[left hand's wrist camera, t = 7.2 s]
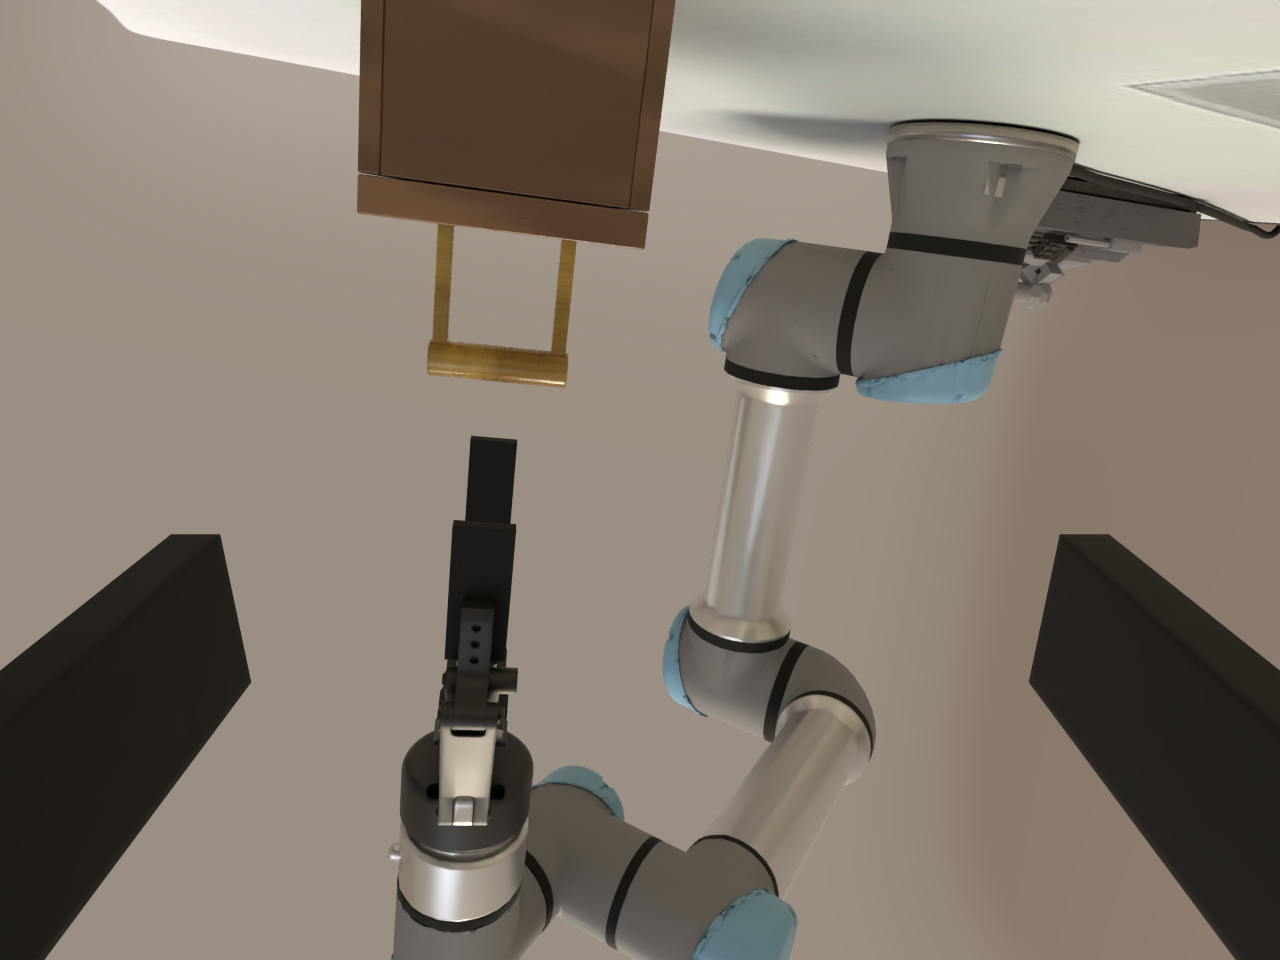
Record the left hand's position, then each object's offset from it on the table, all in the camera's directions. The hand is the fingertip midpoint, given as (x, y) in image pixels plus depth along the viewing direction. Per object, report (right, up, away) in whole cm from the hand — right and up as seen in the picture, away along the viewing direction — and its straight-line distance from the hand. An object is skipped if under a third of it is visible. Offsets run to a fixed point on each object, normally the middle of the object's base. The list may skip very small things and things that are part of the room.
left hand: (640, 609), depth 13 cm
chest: (-4, +23, +17) cm, 29 cm away
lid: (-5, +14, +21) cm, 25 cm away
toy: (+52, +39, +88) cm, 109 cm away
